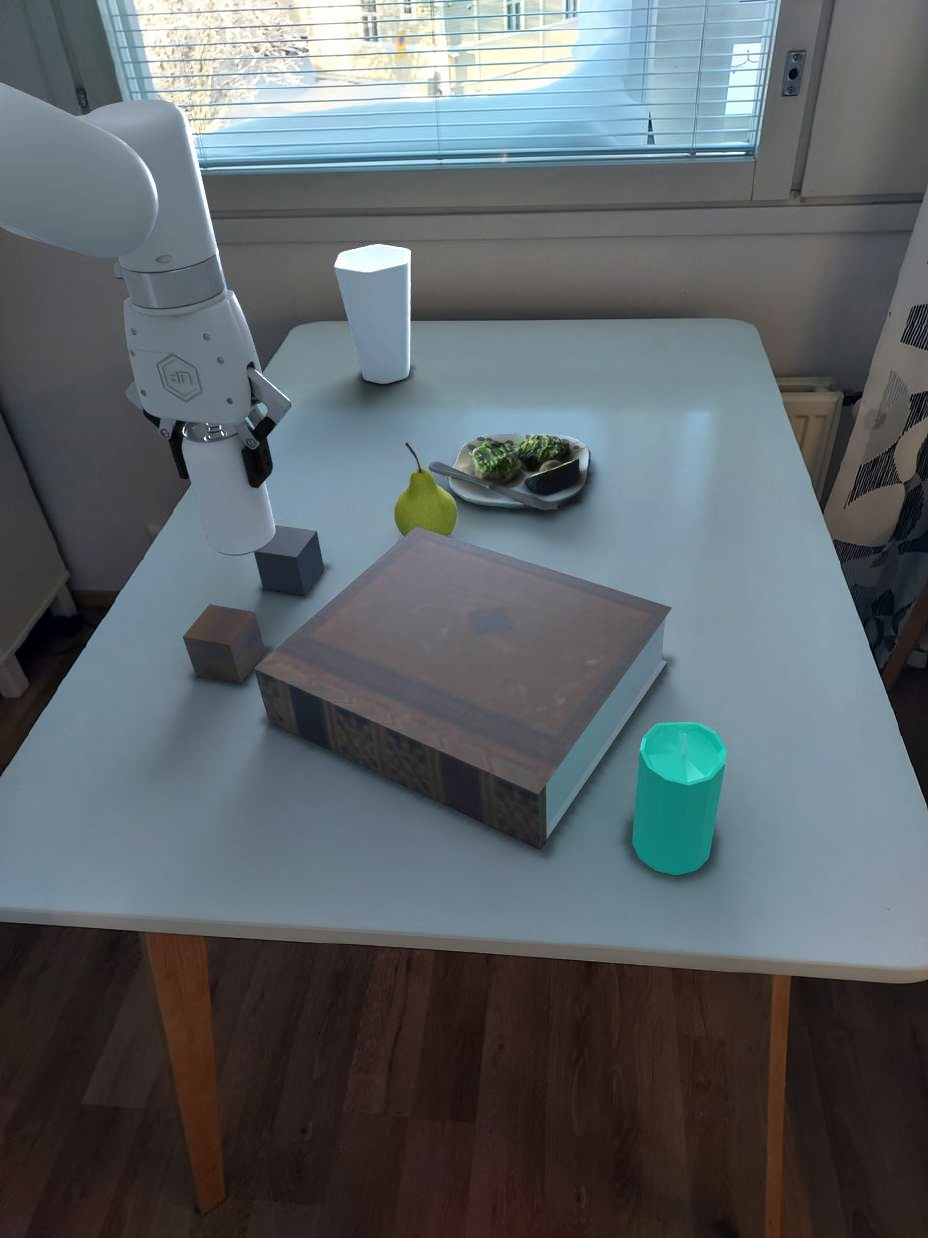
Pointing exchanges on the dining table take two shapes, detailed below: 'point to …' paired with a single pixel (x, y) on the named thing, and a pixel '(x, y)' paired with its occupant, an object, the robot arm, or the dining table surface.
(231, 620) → the block near
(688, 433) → the dining table surface
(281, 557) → the block far
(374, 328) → the cup
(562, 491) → the salad plate
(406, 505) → the fruit
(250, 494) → the can
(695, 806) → the candle
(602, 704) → the book
